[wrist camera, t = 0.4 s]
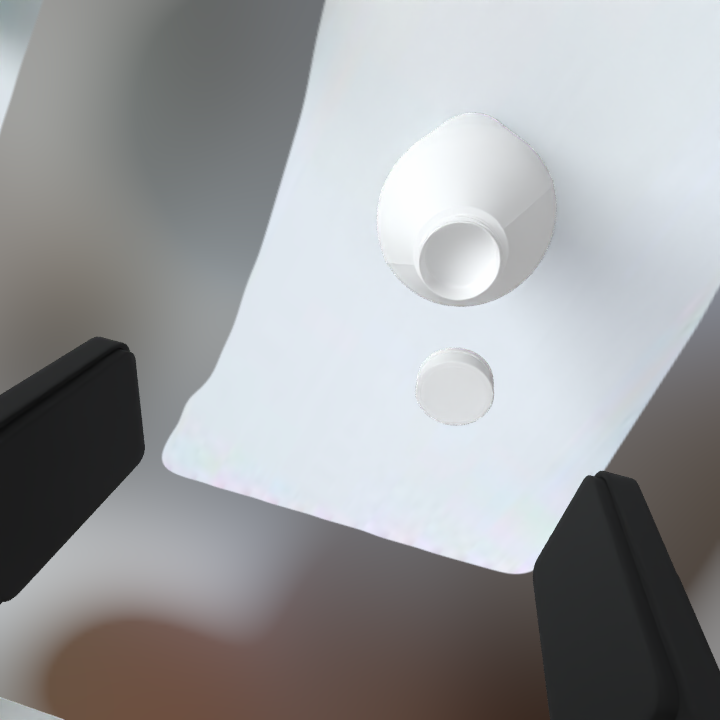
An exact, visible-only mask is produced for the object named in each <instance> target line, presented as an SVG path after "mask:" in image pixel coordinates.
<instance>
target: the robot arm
mask: <svg viewBox="0 0 720 720" xmlns="http://www.w3.org/2000/svg"><path fill="white" fill-rule="evenodd" d="M144 450H145V444H144V435H143V426H142V417H141V408H140V398H139V388H138V379H137V370H136V360H135V356H134V354H133V353H131V352H130V350H129V348H128V346H127V345H126V344H124V343H121V342H118V341H113V340H110V339H106V338H103V337H94V338H92V339H90V340H88V341H87V342H85V343H83V344H82V345H80V346H79V347H77V348H76V349H74V350H72V351H71V352H69V353H67V354H66V355H64V356H62V357H61V358H59V359H58V360H56V361H55V362H53V363H51V364H50V365H48V366H46V367H45V368H43V369H41V370H40V371H39V372H37V373H35V374H33V375H32V376H30V377H28V378H27V379H25V380H24V381H22V382H20V383H19V384H17V385H16V386H14V387H12V388H11V389H9V390H7V391H6V392H4V393H3V394H1V395H0V604H1V603H2V602H6V601H9V600H11V599H12V598H14V597H15V596H16V595H17V594H18V593H19V592H20V591H21V590H22V589H23V588H24V587H25V586H26V585H27V584H28V583H29V582H30V580H32V578H33V577H34V576H35V575H36V574H37V573H38V572H39V571H40V570H41V569H42V568H43V567H44V566H45V564H46V563H47V562H48V561H49V560H50V559H51V558H52V557H53V556H54V555H55V553H56V552H57V551H58V550H59V549H60V548H61V547H62V546H63V545H64V544H65V543H66V542H67V541H68V540H69V539H70V537H71V536H72V535H73V534H74V533H75V532H76V531H77V530H78V529H79V528H80V527H81V526H82V524H83V523H84V522H85V521H86V520H87V519H88V518H89V517H90V516H91V515H92V514H93V513H94V511H95V510H96V509H97V508H98V507H99V506H100V505H101V504H102V503H103V502H104V501H105V500H106V499H107V498H108V496H109V495H110V494H111V493H112V492H113V491H114V490H115V489H116V488H117V487H118V486H119V485H120V483H121V482H122V481H123V480H124V479H125V478H126V477H127V476H128V475H129V474H130V473H131V472H132V471H133V469H134V468H135V467H136V466H137V465H138V464H139V463H140V461H141V459H142V457H143V455H144ZM533 585H534V592H535V601H536V608H537V616H538V625H539V633H540V641H541V648H542V657H543V665H544V673H545V681H546V689H547V697H548V705H549V713H550V720H720V671H719V668H718V666H717V664H716V662H715V659H714V657H713V654H712V652H711V650H710V648H709V645H708V643H707V640H706V638H705V636H704V634H703V631H702V629H701V627H700V625H699V622H698V620H697V617H696V615H695V613H694V610H693V608H692V606H691V604H690V601H689V599H688V597H687V594H686V592H685V590H684V587H683V585H682V583H681V581H680V578H679V576H678V575H677V573H676V571H675V568H674V566H673V564H672V562H671V559H670V557H669V555H668V552H667V550H666V547H665V545H664V543H663V541H662V538H661V536H660V534H659V531H658V529H657V527H656V524H655V522H654V520H653V517H652V515H651V513H650V510H649V508H648V506H647V503H646V501H645V499H644V496H643V494H642V492H641V490H640V487H639V485H638V483H637V482H636V481H635V480H634V479H632V478H628V477H624V476H621V475H617V474H613V473H609V472H606V471H599V472H598V473H597V474H596V475H595V476H591V475H588V476H587V477H585V479H584V480H583V482H582V483H581V485H580V487H579V488H578V490H577V492H576V494H575V495H574V497H573V499H572V500H571V502H570V504H569V506H568V507H567V509H566V511H565V512H564V514H563V516H562V518H561V519H560V521H559V523H558V524H557V526H556V528H555V530H554V531H553V533H552V535H551V536H550V538H549V540H548V541H547V543H546V545H545V547H544V548H543V550H542V552H541V553H540V555H539V557H538V559H537V560H536V563H535V566H534V570H533ZM0 720H64V719H61V718H58V717H56V716H53V715H50V714H47V713H44V712H41V711H39V710H36V709H33V708H30V707H27V706H25V705H22V704H19V703H16V702H13V701H11V700H8V699H5V698H2V697H0Z"/></svg>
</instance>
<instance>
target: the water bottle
mask: <svg viewBox="0 0 720 720" xmlns="http://www.w3.org/2000/svg"><path fill="white" fill-rule="evenodd" d="M555 222H556V195H555V189H554V184H553V179H552V178H551V175H550V173H549V171H548V169H547V168H546V166H545V164H544V162H543V161H542V159H541V158H540V156H539V155H538V154H537V153H536V151H535V150H534V149H533V148H532V147H531V146H530V145H529V144H528V143H527V142H525V141H524V140H523V139H522V138H520V137H519V136H517V135H516V134H514V133H513V132H512V131H511V130H509V129H508V128H507V127H505V126H504V125H503V124H502V123H500V122H499V121H498V120H496V119H495V118H493V117H491V116H489V115H486V114H482V113H465V114H461V115H457V116H455V117H453V118H451V119H449V120H448V121H446V122H445V123H443V124H442V125H441V126H439V127H438V128H436V129H435V130H433V131H432V132H431V133H430V134H428V135H426V136H425V137H423V138H422V139H420V140H419V141H417V142H416V143H415V144H414V145H412V146H411V147H410V148H409V149H408V150H407V151H406V152H405V153H404V154H403V155H402V156H401V157H400V159H399V160H398V161H397V162H396V164H395V165H394V167H393V168H392V170H391V171H390V173H389V175H388V177H387V179H386V181H385V183H384V186H383V188H382V191H381V195H380V198H379V203H378V209H377V232H378V238H379V243H380V247H381V250H382V253H383V256H384V259H385V261H386V262H387V264H388V266H389V267H390V269H391V270H392V272H393V273H394V274H395V276H396V277H397V278H398V279H399V280H400V281H401V282H402V283H403V284H404V285H405V286H406V287H407V288H408V289H410V290H411V291H412V292H414V293H415V294H417V295H419V296H420V297H422V298H424V299H427V300H429V301H432V302H434V303H438V304H442V305H447V306H457V307H465V306H474V305H480V304H484V303H487V302H490V301H493V300H496V299H498V298H500V297H502V296H504V295H506V294H508V293H509V292H511V291H512V290H514V289H515V288H517V287H518V286H519V285H520V284H522V283H523V282H524V281H525V280H526V279H527V278H528V277H529V276H530V275H531V274H532V272H533V271H534V270H535V269H536V267H537V266H538V265H539V263H540V262H541V260H542V259H543V257H544V255H545V253H546V251H547V249H548V247H549V244H550V242H551V239H552V236H553V232H554V228H555ZM415 391H416V392H415V393H416V399H417V402H418V404H419V406H420V408H421V409H422V410H423V412H425V414H427V415H428V416H429V417H430V418H432V419H434V420H435V421H437V422H440V423H443V424H447V425H465V424H469V423H472V422H475V421H477V420H478V419H480V418H481V417H483V416H484V415H485V414H486V413H487V412H488V411H489V408H490V407H491V404H492V402H493V397H494V382H493V375H492V371H491V369H490V367H489V365H488V363H487V362H486V361H485V360H484V359H483V358H482V357H481V356H480V355H478V354H476V353H475V352H473V351H470V350H467V349H463V348H445V349H442V350H439V351H436V352H435V353H433V354H431V355H430V356H429V357H428V358H427V359H426V360H425V361H424V362H423V363H422V365H421V367H420V370H419V373H418V377H417V383H416V390H415Z"/></svg>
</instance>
